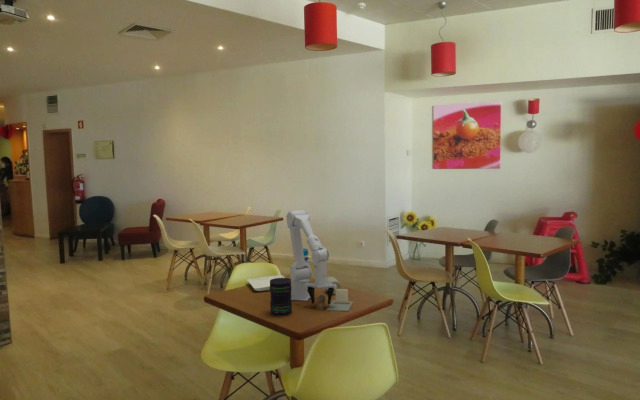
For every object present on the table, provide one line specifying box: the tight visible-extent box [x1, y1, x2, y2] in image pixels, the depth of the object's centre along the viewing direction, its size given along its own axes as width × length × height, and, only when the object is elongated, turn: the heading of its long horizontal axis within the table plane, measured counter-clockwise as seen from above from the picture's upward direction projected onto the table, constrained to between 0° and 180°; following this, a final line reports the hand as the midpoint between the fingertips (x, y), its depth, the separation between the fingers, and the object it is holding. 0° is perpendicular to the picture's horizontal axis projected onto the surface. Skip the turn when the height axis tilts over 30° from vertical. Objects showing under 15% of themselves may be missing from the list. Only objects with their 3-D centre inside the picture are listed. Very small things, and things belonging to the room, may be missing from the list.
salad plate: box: [245, 274, 286, 292], centre depth 259 cm, size 21×21×3 cm
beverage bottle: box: [297, 248, 311, 283], centre depth 259 cm, size 8×8×20 cm
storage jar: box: [269, 277, 293, 317], centre depth 213 cm, size 10×10×15 cm
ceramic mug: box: [324, 276, 345, 295], centre depth 244 cm, size 11×8×8 cm
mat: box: [326, 299, 354, 312], centre depth 222 cm, size 10×14×1 cm
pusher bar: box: [316, 294, 326, 311], centre depth 220 cm, size 2×7×5 cm, turn 167°
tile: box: [335, 288, 349, 302], centre depth 225 cm, size 6×1×6 cm, turn 76°
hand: (321, 303), depth 220 cm, fingers open, 7 cm apart
